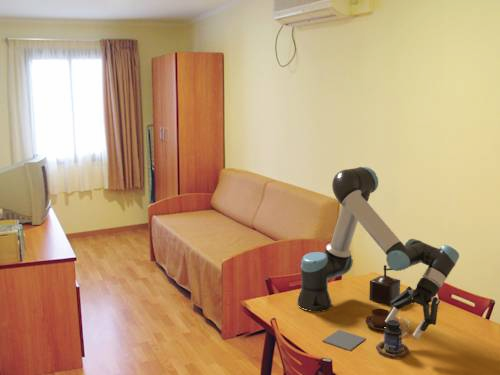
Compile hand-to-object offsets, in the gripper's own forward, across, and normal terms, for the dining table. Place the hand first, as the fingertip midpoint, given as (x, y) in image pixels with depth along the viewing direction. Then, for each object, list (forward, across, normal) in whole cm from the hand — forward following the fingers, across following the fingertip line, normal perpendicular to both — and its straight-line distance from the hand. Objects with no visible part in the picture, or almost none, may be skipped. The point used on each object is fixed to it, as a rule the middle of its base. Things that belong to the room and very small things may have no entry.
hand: (400, 330), depth 183 cm
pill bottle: (+8, +1, -4) cm, 9 cm away
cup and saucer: (0, +19, -12) cm, 22 cm away
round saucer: (+7, +1, -4) cm, 8 cm away
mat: (+14, +17, +3) cm, 22 cm away
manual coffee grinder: (-17, +39, -28) cm, 51 cm away
